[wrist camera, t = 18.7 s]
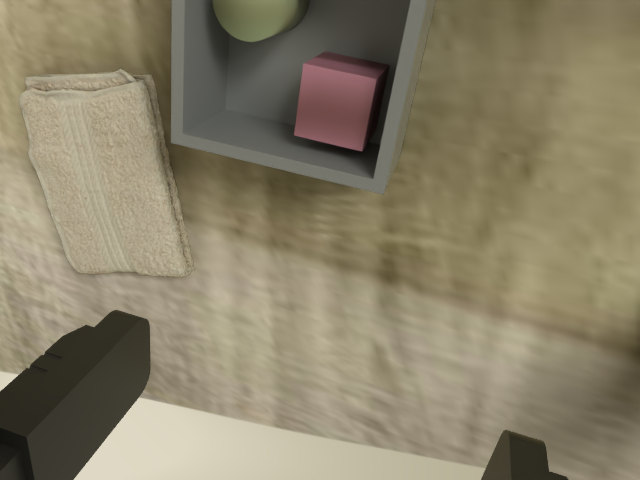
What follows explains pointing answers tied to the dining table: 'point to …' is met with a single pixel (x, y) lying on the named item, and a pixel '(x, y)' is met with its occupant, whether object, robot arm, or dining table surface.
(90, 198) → the washcloth
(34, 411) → the robot arm
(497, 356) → the dining table surface
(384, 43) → the bin
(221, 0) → the green cylinder
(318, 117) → the pink cube
